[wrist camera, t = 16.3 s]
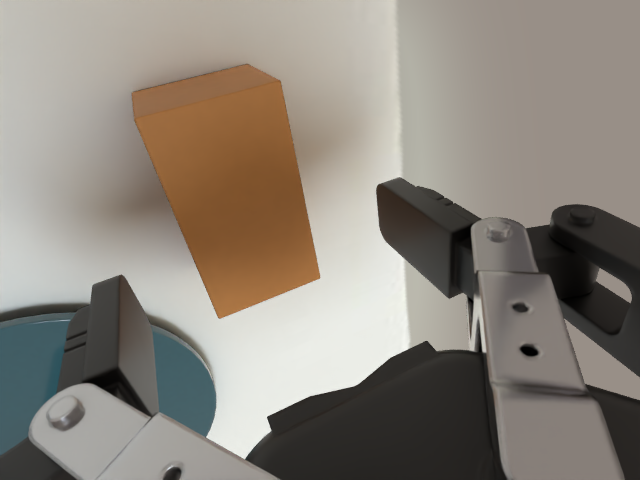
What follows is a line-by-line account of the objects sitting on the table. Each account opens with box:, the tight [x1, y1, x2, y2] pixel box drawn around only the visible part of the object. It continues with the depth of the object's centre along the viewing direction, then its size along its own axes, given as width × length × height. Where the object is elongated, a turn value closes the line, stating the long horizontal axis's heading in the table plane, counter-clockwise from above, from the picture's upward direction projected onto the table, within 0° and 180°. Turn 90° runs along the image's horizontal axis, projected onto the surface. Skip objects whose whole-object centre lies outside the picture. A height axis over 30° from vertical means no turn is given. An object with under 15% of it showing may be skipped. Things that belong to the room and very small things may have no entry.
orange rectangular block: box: [132, 64, 320, 319], centre depth 15 cm, size 8×4×4 cm, turn 10°
